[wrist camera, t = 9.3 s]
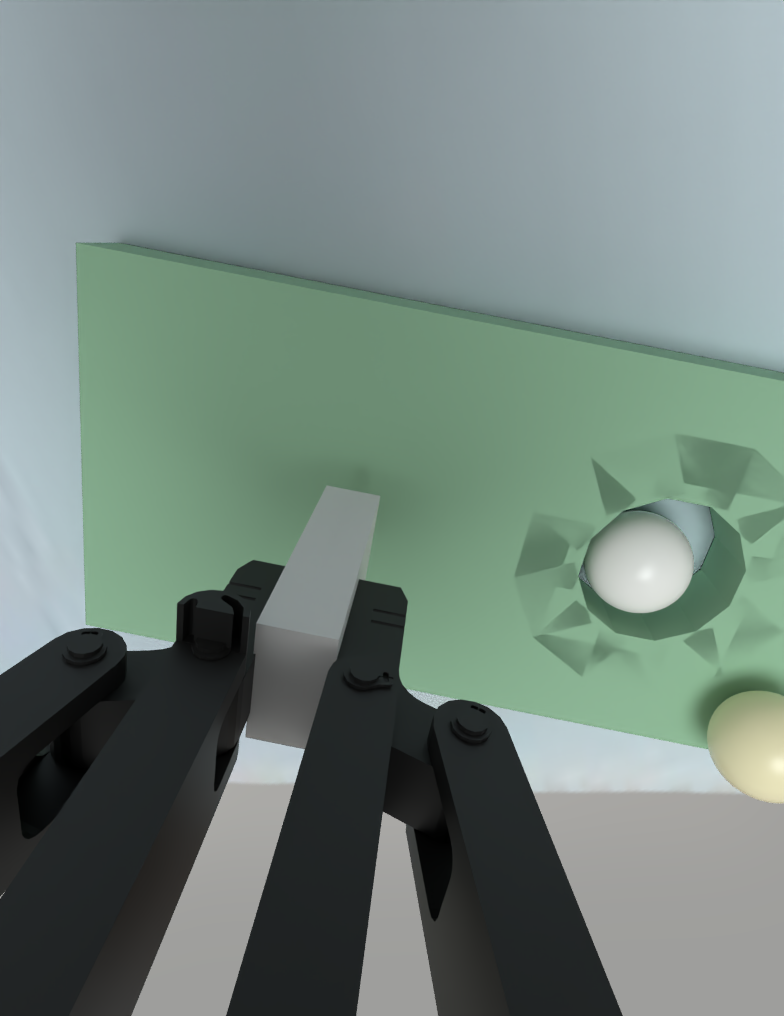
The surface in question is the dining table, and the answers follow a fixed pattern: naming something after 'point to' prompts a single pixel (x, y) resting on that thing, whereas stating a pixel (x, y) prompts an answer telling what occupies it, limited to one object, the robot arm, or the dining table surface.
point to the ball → (639, 562)
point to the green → (430, 480)
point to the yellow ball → (750, 743)
